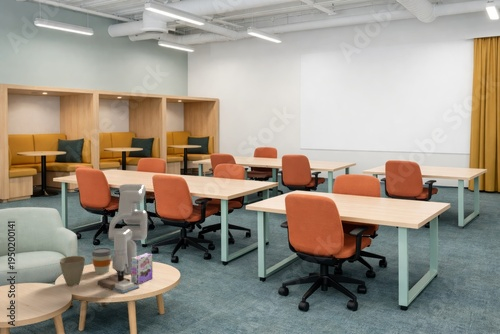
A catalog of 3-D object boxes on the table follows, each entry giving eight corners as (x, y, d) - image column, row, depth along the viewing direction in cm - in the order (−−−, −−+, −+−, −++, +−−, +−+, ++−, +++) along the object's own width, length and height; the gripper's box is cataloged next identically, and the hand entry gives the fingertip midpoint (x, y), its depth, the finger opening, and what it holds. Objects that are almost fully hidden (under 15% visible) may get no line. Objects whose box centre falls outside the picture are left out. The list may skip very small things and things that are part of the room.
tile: (125, 284, 286) (125, 280, 285) (133, 286, 281) (133, 283, 281) (114, 287, 279) (114, 283, 279) (123, 290, 274) (123, 286, 274)
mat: (128, 284, 288) (128, 282, 288) (139, 288, 282) (139, 286, 282) (112, 289, 278) (112, 288, 278) (123, 293, 272) (123, 292, 272)
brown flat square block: (115, 279, 297) (115, 274, 296) (129, 284, 288) (129, 279, 288) (97, 285, 285) (97, 280, 285) (111, 290, 277) (111, 285, 277)
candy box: (137, 284, 288) (137, 259, 286) (130, 282, 291) (130, 257, 289) (152, 278, 300) (152, 254, 298) (146, 276, 303) (146, 252, 301)
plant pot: (66, 279, 295) (66, 255, 293) (89, 280, 294) (88, 256, 293) (55, 287, 280) (55, 262, 279) (79, 288, 279) (78, 263, 278)
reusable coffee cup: (108, 274, 305) (107, 253, 304) (89, 274, 305) (89, 252, 304) (114, 269, 318) (113, 247, 316) (96, 268, 318) (95, 247, 317)
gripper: (107, 250, 282) (108, 279, 284) (123, 255, 273) (123, 284, 275) (117, 248, 288) (118, 276, 290) (133, 252, 279) (133, 281, 281)
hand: (120, 280), depth 282 cm, fingers closed
